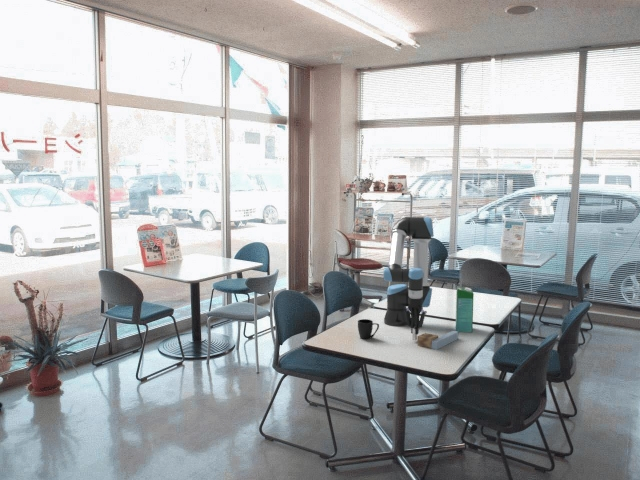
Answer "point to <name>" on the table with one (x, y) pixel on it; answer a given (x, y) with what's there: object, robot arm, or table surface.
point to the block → (426, 339)
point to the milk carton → (464, 309)
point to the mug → (366, 328)
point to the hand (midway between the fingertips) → (414, 339)
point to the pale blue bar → (444, 340)
